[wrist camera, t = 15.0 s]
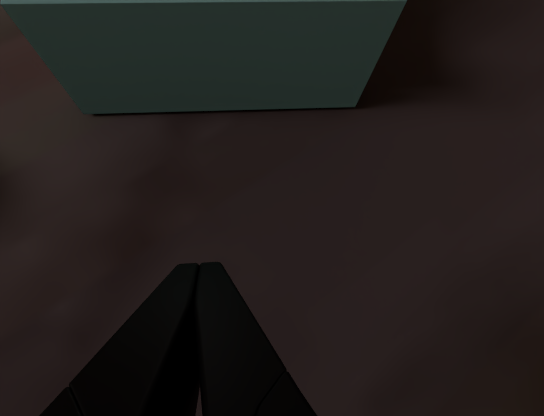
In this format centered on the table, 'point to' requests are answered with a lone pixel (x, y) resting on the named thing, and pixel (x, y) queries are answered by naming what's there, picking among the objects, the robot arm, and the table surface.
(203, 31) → the white and teal drawer
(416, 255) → the table surface
